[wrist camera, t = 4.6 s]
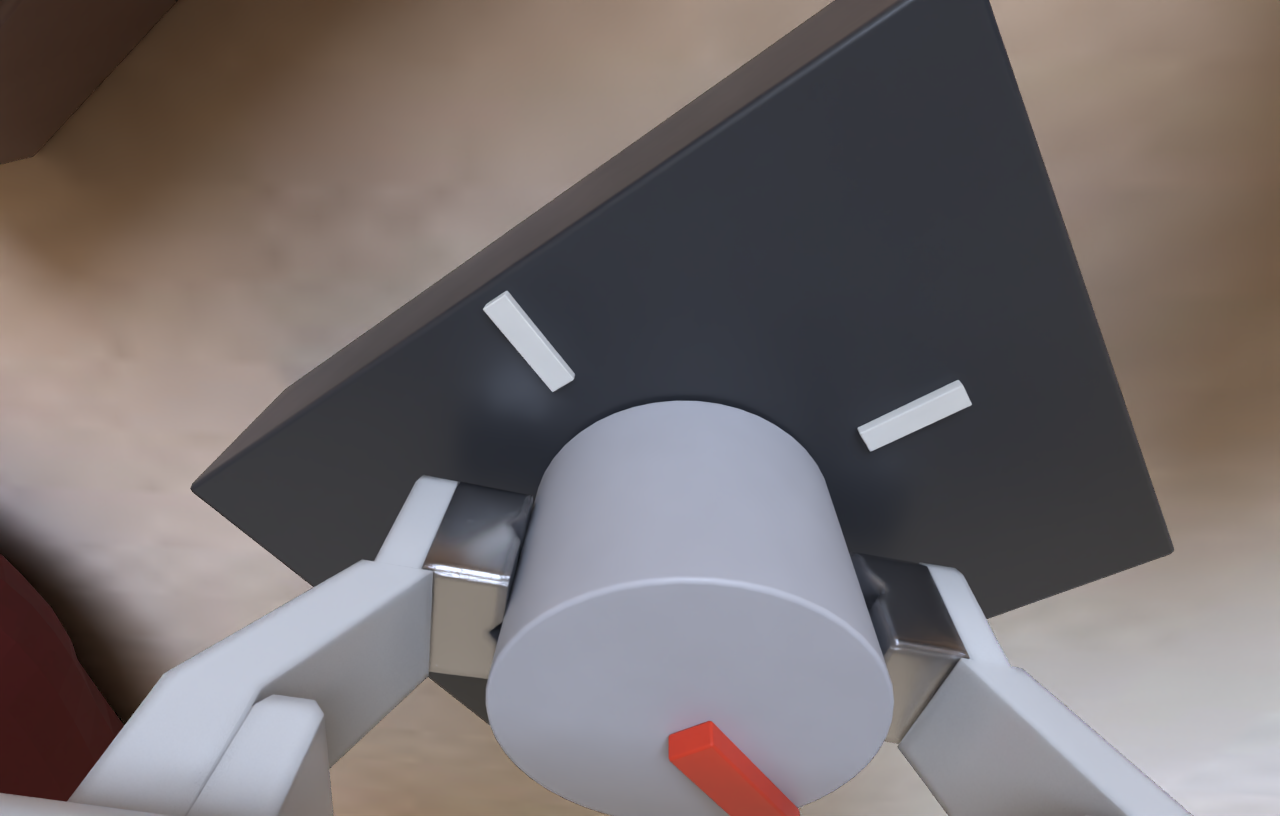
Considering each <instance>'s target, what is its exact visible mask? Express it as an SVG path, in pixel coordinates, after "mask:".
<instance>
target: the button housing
mask: <svg viewBox="0 0 1280 816" xmlns="http://www.w3.org/2000/svg"><path fill="white" fill-rule="evenodd" d="M176 1H177V0H0V164H4V163H9V162H13V161H17V160H21V159H25V158H29V157H33V156H34V155H35V154H36V153H37V152H38V151H39V150H40V148H41V147H42V146H43V145H44V144H45V143H46V142H47V141H48V140H49V139H50V138H51V137H52V135H53V134H54V133H55V132H56V131H57V130H58V129H59V128H60V127H61V126H62V125H63V124H64V123H65V121H66V120H67V119H68V118H69V117H70V116H71V115H72V114H73V113H74V112H75V111H76V110H77V108H78V107H79V106H80V105H81V104H82V103H83V102H84V101H85V100H86V99H87V98H88V97H89V95H90V94H91V93H92V92H93V91H94V90H95V89H96V88H97V87H98V86H99V85H100V84H101V83H102V81H103V80H104V79H105V78H106V77H107V76H108V75H109V74H110V73H111V72H112V71H113V70H114V68H115V67H116V66H117V65H118V64H119V63H120V62H121V61H122V60H123V59H124V58H125V57H126V55H127V54H128V53H129V52H130V51H131V50H132V49H133V48H134V47H135V46H136V45H137V44H138V43H139V41H140V40H141V39H142V38H143V37H144V36H145V35H146V34H147V33H148V32H149V31H150V30H151V28H152V27H153V26H154V25H155V24H156V23H157V22H158V21H159V20H160V19H161V18H162V17H163V15H164V14H165V13H166V12H167V11H168V10H169V9H170V8H171V7H172V6H173V5H174V4H175V2H176Z"/></svg>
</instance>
